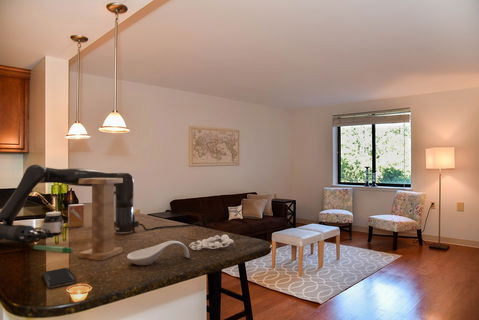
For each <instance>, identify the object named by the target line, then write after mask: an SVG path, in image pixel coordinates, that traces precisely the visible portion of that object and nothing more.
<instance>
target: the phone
mask: <svg viewBox="0 0 479 320" xmlns="http://www.w3.org/2000/svg"><path fill="white" fill-rule="evenodd" d="M42 278H43V280H44V281H45V284H46V286H47V288H49V289H54V288H55V289H56V288H59V287H63V286H69V285H73V284H76V283H77V278H76V276H75V275H74V274H73V272H72V271H71V270H70V268H69V267H62V268H58V269H57V268H56V269H51V270H47V271H43V272H42Z"/></svg>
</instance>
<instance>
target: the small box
mask: <svg viewBox="0 0 479 320" xmlns="http://www.w3.org/2000/svg"><path fill="white" fill-rule="evenodd" d="M67 226H68V228H77V227H85V204H83V203H76V204H75V203H73V204H68V205H67Z"/></svg>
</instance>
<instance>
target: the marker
mask: <svg viewBox="0 0 479 320" xmlns="http://www.w3.org/2000/svg"><path fill="white" fill-rule="evenodd" d="M32 249H33V250H39V251H48V252H55V253H65V254H66V253H67V254H69V253H72V247H68V246H55V245H44V244H36V245H33V246H32Z"/></svg>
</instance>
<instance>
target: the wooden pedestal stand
mask: <svg viewBox="0 0 479 320" xmlns="http://www.w3.org/2000/svg"><path fill="white" fill-rule="evenodd" d="M115 183H123V178H85V179H79V184H92V186H91V248H89V249H85V250H83V251H80V252H78V258H79V259H80V258H81V259H87V260H96V261H104V260H108V259H109V258H112V257H115V256H117V255H119V254H122V253H123V251H124V250H123V248H124V247H120V246H119V247H118V246H115V223H114V184H115Z"/></svg>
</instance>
